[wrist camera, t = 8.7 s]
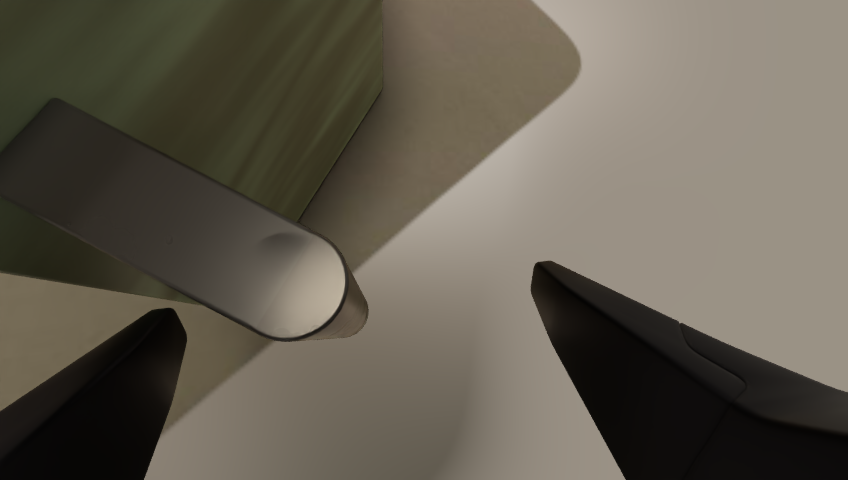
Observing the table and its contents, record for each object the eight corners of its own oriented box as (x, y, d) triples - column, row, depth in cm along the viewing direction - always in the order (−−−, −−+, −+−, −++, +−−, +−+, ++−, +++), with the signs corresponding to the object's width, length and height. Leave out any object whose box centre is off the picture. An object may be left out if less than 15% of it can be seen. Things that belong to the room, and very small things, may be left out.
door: (473, 133, 19) (663, -296, 6) (347, 369, 16) (172, 537, 3) (369, 81, 20) (339, -450, 6) (223, 303, 16) (-522, 157, 3)
